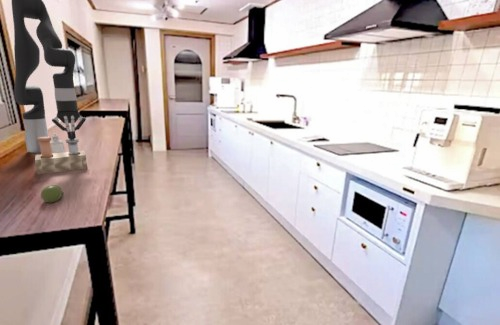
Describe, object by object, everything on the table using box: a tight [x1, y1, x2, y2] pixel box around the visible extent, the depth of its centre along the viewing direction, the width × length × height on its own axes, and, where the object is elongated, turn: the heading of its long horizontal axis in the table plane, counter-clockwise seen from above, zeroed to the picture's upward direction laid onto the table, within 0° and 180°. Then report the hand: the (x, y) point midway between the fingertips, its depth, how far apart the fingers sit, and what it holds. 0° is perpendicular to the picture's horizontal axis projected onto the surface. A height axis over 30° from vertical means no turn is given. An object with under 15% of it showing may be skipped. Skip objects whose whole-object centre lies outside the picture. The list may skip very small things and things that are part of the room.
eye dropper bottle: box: [50, 132, 66, 153], centre depth 140 cm, size 4×6×12 cm
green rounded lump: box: [40, 184, 64, 203], centre depth 95 cm, size 6×5×10 cm
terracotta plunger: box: [37, 136, 52, 158], centre depth 121 cm, size 5×5×10 cm
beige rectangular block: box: [34, 150, 88, 175], centre depth 125 cm, size 18×9×6 cm, turn 124°
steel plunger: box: [65, 138, 80, 155], centre depth 126 cm, size 5×5×10 cm
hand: (72, 139), depth 125 cm, fingers closed
